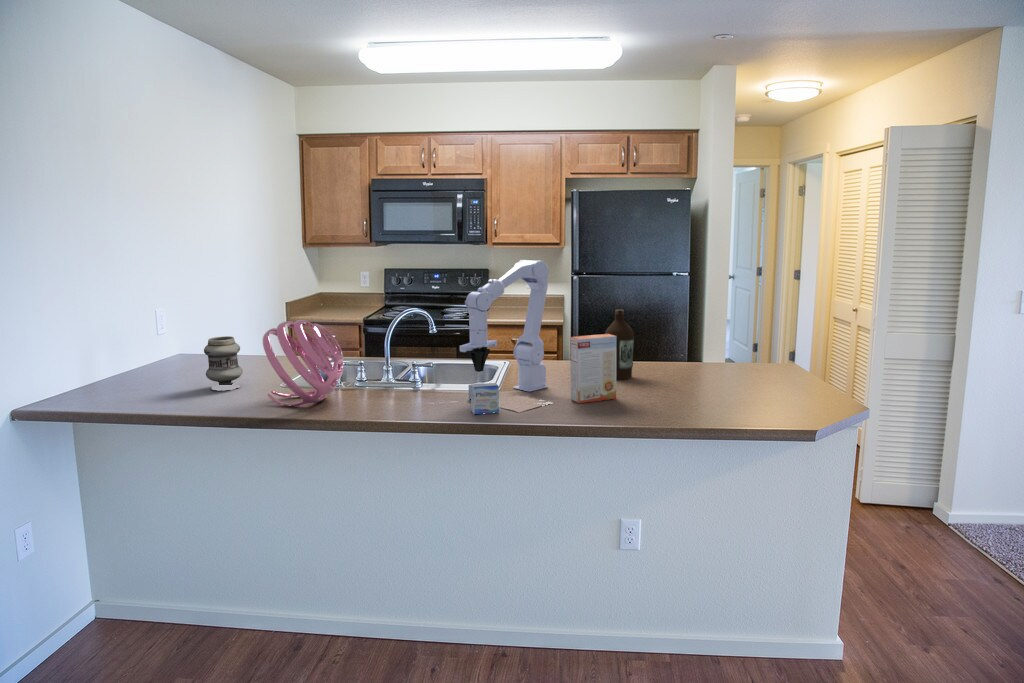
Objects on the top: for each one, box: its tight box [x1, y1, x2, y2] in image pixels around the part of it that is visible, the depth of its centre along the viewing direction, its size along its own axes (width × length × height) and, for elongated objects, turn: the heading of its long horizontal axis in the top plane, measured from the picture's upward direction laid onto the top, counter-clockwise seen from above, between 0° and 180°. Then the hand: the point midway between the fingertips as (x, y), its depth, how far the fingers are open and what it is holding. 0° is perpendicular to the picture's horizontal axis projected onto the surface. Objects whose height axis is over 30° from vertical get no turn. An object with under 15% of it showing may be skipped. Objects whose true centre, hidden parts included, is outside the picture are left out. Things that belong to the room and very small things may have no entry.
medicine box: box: [469, 382, 500, 415], centre depth 216 cm, size 8×4×9 cm, turn 106°
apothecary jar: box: [203, 335, 244, 385], centre depth 250 cm, size 12×12×18 cm
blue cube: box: [468, 382, 486, 400], centre depth 232 cm, size 5×5×5 cm
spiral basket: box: [262, 319, 344, 407], centre depth 229 cm, size 28×28×27 cm
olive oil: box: [604, 309, 635, 381], centre depth 260 cm, size 11×11×25 cm
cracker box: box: [569, 333, 617, 404], centre depth 229 cm, size 14×6×21 cm, turn 111°
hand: (479, 371), depth 230 cm, fingers closed
